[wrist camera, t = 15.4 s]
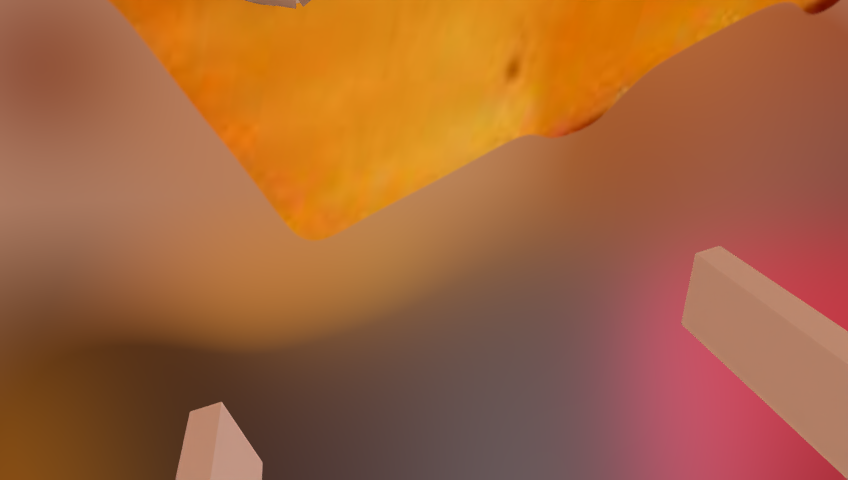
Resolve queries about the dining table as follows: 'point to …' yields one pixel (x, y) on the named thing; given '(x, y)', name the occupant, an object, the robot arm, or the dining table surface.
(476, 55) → the dining table surface
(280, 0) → the bowl
